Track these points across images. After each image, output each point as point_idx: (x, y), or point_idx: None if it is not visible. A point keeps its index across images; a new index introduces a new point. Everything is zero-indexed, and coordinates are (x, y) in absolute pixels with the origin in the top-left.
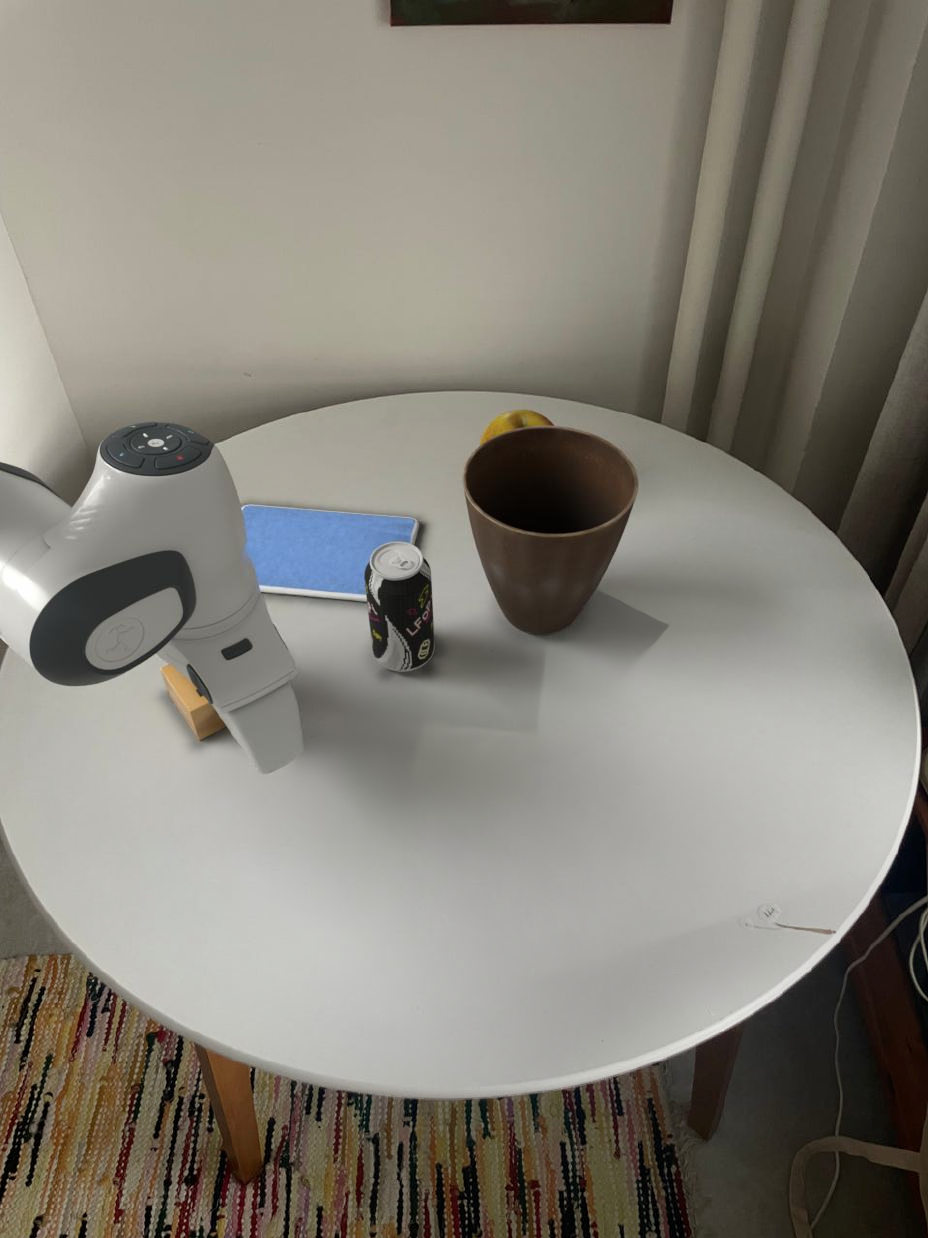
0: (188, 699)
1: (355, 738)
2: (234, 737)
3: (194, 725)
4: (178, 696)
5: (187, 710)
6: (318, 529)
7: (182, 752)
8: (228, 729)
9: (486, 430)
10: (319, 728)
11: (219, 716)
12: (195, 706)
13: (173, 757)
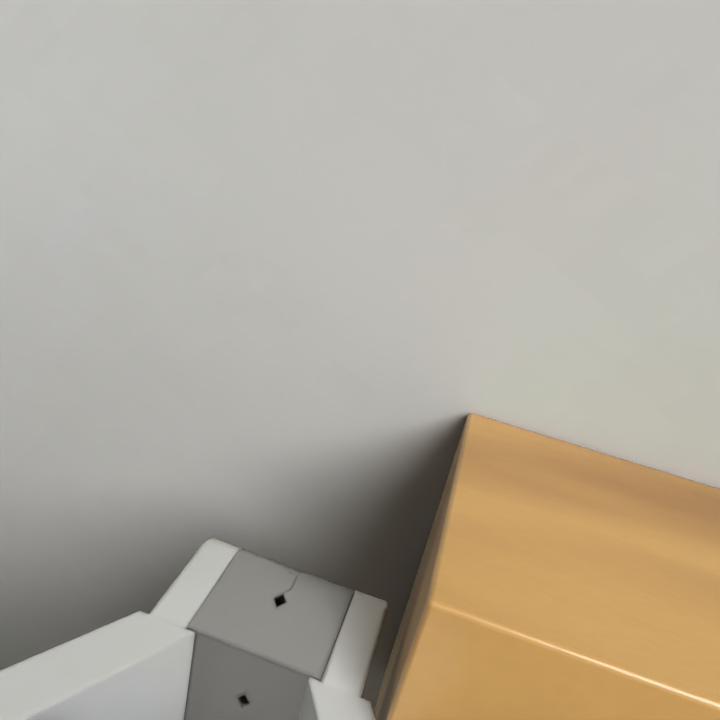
0: (546, 690)
1: None
2: (208, 540)
3: (454, 491)
4: (678, 670)
5: (498, 591)
6: None
7: (487, 301)
8: (264, 566)
9: None
10: None
11: (377, 610)
12: (436, 659)
13: (503, 243)
